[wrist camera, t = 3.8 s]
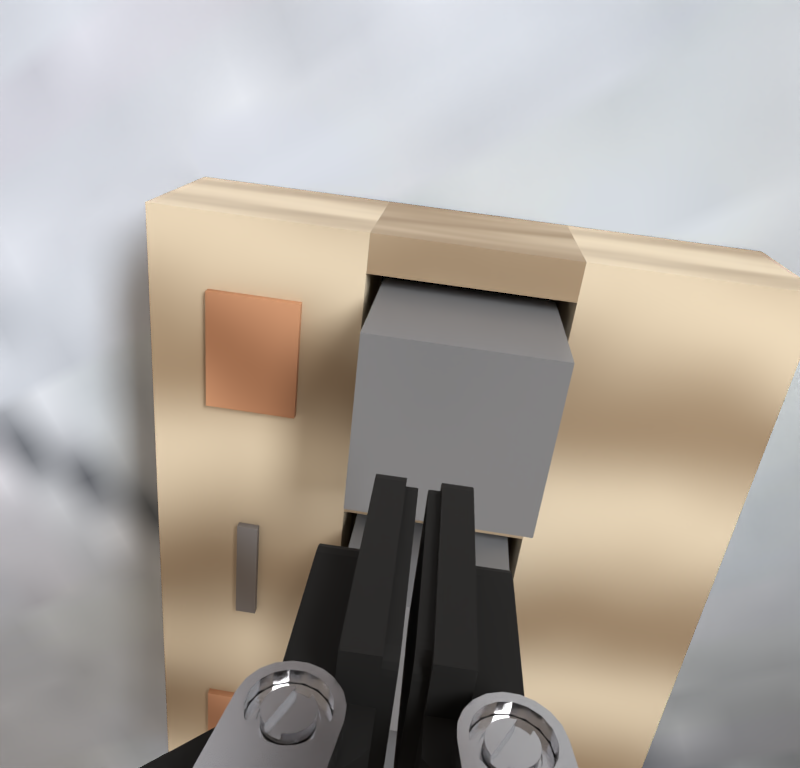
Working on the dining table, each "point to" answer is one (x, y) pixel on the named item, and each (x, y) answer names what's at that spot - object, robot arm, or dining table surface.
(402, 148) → the dining table surface
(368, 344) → the button
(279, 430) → the switch unit
